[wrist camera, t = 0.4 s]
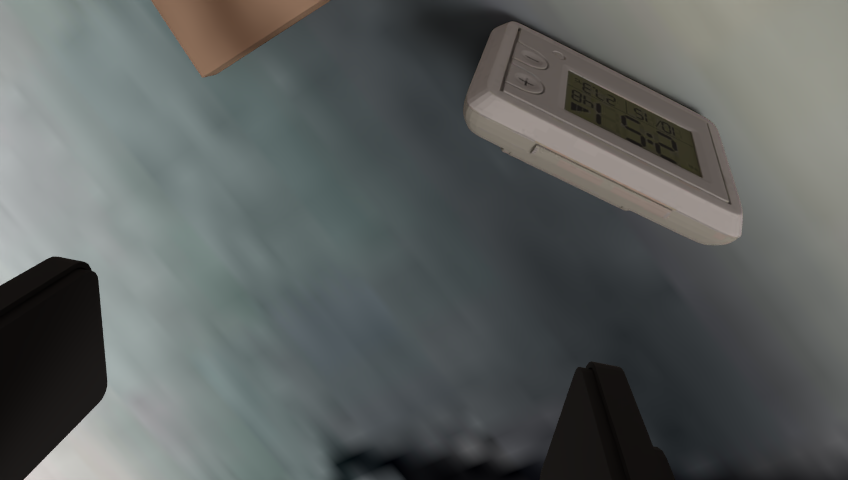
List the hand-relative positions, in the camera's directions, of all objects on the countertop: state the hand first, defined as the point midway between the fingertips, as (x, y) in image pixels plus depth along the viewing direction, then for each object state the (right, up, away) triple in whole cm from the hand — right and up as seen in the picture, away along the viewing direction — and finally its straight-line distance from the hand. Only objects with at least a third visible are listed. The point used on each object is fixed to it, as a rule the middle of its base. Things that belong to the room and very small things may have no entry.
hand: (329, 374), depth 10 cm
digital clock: (+13, +11, +26) cm, 31 cm away
